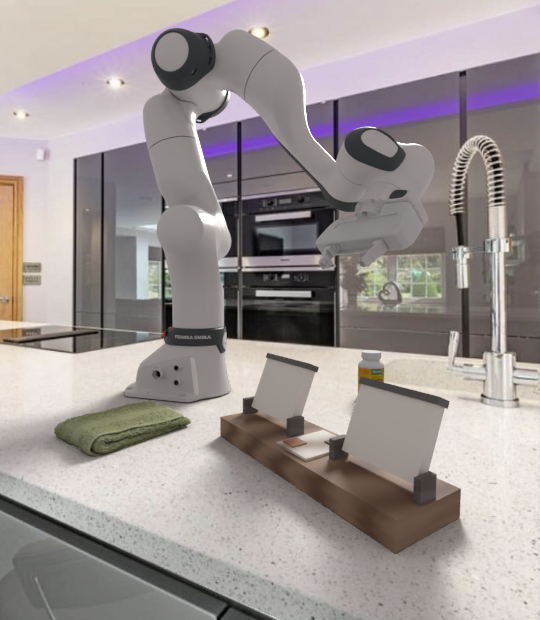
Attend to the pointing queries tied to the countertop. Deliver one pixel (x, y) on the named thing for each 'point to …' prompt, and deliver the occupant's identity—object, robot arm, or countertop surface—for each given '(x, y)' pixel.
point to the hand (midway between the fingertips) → (341, 265)
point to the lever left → (284, 387)
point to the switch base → (344, 478)
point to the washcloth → (119, 427)
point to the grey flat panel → (394, 428)
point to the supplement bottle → (371, 366)
